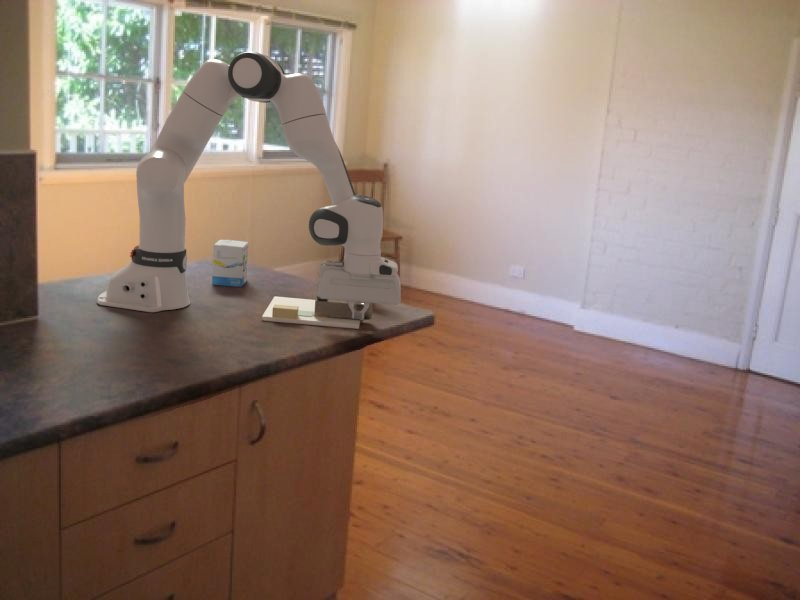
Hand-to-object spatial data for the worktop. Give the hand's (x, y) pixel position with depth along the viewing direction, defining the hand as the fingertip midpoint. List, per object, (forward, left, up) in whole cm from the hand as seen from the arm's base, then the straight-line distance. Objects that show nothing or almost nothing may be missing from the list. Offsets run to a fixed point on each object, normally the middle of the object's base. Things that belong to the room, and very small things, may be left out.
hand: (357, 318), depth 215 cm
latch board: (-12, +10, -3) cm, 16 cm away
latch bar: (-4, +6, -1) cm, 7 cm away
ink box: (-39, +35, -3) cm, 52 cm away
